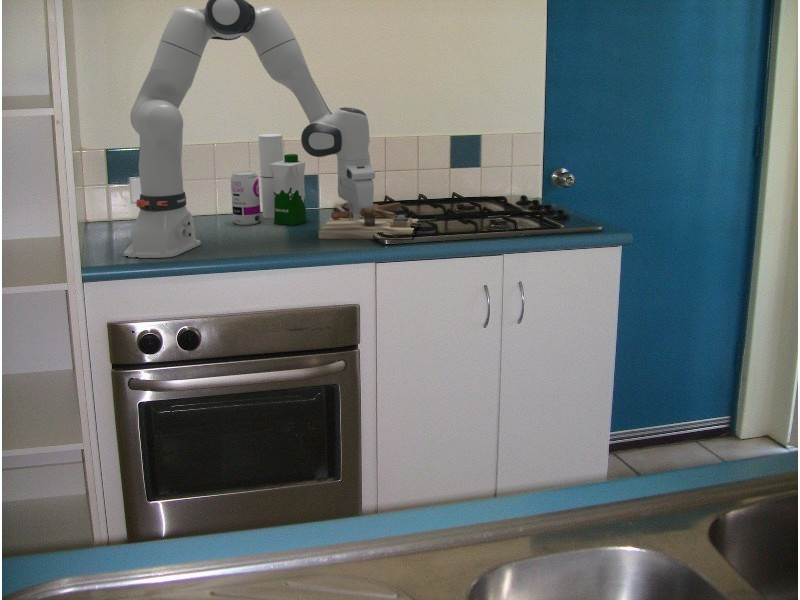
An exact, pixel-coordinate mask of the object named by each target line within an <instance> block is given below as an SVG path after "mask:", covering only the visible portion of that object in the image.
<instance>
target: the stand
mask: <svg viewBox="0 0 800 600" xmlns="http://www.w3.org/2000/svg"><path fill="white" fill-rule="evenodd" d="M396 218H397V217H395V218H393V219H390V218H376V217H363V218H360V219H359V220H354V219H352V218H351V217H350V218H349V217H344V218H339V219H338V220H333V219H332V218H331V217H330V218H329V219H328V221H327V222H326V223H325V224H323V226H322V227H321V228H320V229H319V230H318V239H333V240H334V239H335V240H337V239H338V240H339V239H341V240H343V239H345V240H348V239H349V240H374V239H373V234H374V233H378V232H379V233H380V232H384V233H391V234H412V233H413V230H414V228H411V227H410V226H411V224H412V223H417V221H418V222H419V219H418V218H413V217H406V221H396Z"/></svg>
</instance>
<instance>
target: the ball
mask: <svg viewBox="0 0 800 600" xmlns="http://www.w3.org/2000/svg"><path fill="white" fill-rule="evenodd" d="M395 218H396V221H406V218H407V217H406V216H405V215H403V214H398V215H397V216H396V217H395Z"/></svg>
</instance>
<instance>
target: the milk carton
mask: <svg viewBox="0 0 800 600" xmlns="http://www.w3.org/2000/svg"><path fill="white" fill-rule="evenodd" d="M270 168H271V172H272V176H273V187H274V206H275V208H274V219H273V224H274V225H275V224H277V225H284V226H285V225H287V226H296V225H300V224H302V223H305V222H307V212H306V211H307V209H306V194H305V193H306V192H305V191H306V190H305V189H306V188H305V170H306V169H305V168H306V162H305V161H302V160H301V161H299V154H296V153H289V154H283V161H280V162H275V163H273V164H270Z"/></svg>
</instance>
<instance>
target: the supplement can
mask: <svg viewBox="0 0 800 600" xmlns="http://www.w3.org/2000/svg"><path fill="white" fill-rule="evenodd" d="M230 191H231V205H232V222H233V223H235V224H236V225H238V226H252V225H258V224H259V223H260V221H262V219H261V218H262V215H261V201H260V200H261V199H260V182H259V177H258V175H257V172H256V171H245V170H244V171H243V170H242V171H236V172H232V174H231V177H230Z"/></svg>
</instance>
